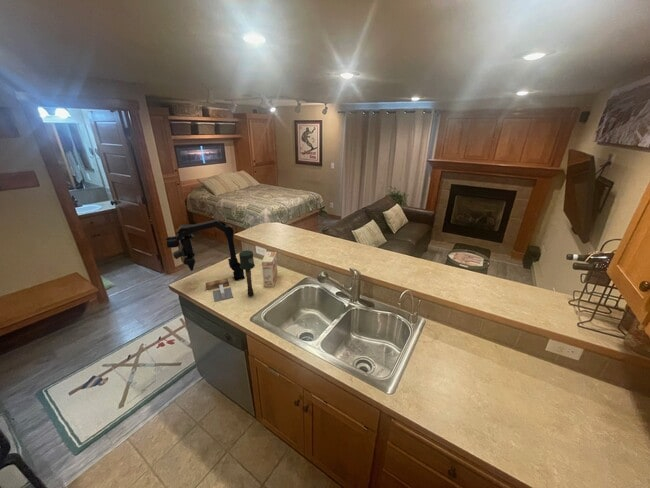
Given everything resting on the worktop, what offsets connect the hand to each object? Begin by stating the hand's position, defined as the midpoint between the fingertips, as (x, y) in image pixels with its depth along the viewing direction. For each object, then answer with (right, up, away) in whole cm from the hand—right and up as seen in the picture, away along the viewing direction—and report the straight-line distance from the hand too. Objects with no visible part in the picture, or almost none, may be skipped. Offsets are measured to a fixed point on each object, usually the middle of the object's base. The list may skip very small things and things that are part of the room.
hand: (191, 267), depth 167 cm
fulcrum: (+21, -17, -2) cm, 27 cm away
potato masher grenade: (+39, -18, -2) cm, 43 cm away
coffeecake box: (+48, -11, +14) cm, 51 cm away
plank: (+14, -14, +6) cm, 21 cm away
